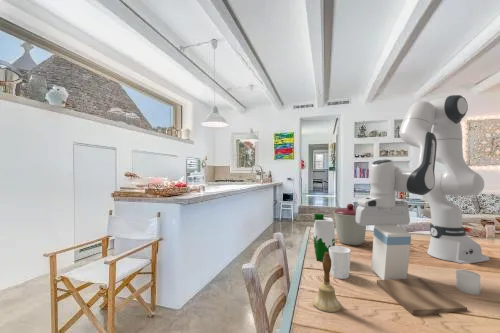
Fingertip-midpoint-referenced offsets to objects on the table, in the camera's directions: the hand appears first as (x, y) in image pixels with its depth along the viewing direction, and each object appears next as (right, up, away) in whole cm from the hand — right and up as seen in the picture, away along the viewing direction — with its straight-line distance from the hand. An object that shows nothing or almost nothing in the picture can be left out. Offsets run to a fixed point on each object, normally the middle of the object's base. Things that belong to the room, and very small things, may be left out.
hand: (382, 236), depth 96 cm
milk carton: (-18, -15, +15) cm, 28 cm away
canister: (+3, -14, +37) cm, 40 cm away
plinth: (+1, -14, -18) cm, 23 cm away
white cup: (-18, -15, -2) cm, 23 cm away
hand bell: (-29, -15, -21) cm, 39 cm away
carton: (0, -14, -3) cm, 14 cm away
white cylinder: (+20, -14, -15) cm, 29 cm away
